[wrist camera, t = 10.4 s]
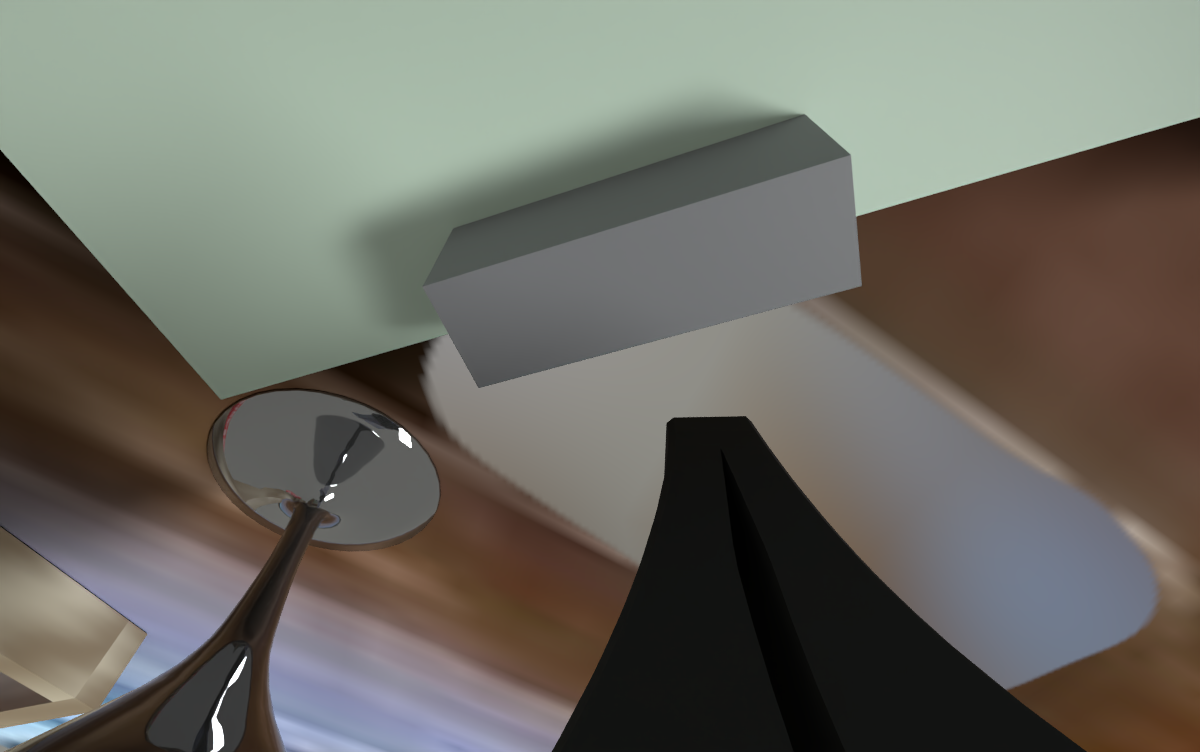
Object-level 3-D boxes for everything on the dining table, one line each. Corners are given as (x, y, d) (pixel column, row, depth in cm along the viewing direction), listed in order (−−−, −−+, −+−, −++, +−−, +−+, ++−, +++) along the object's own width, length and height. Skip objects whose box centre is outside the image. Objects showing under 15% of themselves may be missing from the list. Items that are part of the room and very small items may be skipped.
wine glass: (259, 326, 16) (-888, 1607, 4) (503, 472, 19) (318, 1431, 7) (155, 483, 19) (-608, 1405, 7) (375, 585, 22) (102, 1350, 10)
